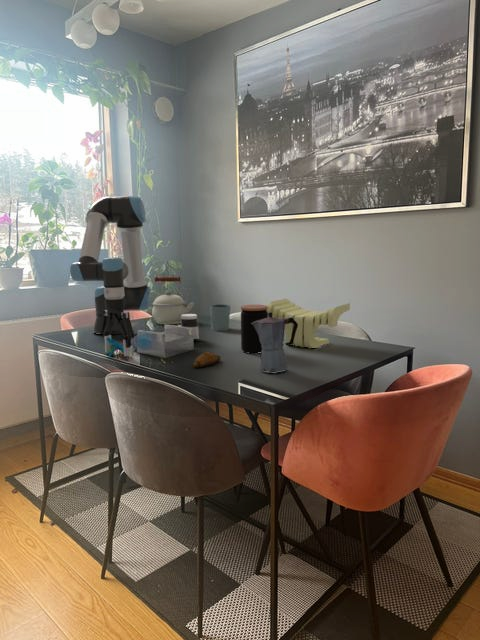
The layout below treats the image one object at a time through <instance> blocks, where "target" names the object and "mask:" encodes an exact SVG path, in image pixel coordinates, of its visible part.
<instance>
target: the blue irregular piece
mask: <svg viewBox="0 0 480 640" xmlns="http://www.w3.org/2000/svg"><path fill="white" fill-rule="evenodd" d="M106 340H107V341H108V342H109V343H110V344H111V345H110V350H109V351H108V352H106V354H107V355H108V356H109V357H110V356H111V357H112V356H113V355H114V353H115V351H116V352H117V351H119V352H121V353H122V354H124V347H123V345H122V344H120V343H119V342H118V341H116V340H114V339H113V338H112V337H111V338H109V337H108V338H107V339H106ZM111 350H112V351H111ZM110 351H111V352H110Z"/></svg>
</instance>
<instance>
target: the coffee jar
mask: <svg viewBox="0 0 480 640" xmlns="http://www.w3.org/2000/svg"><path fill="white" fill-rule="evenodd" d="M240 309H241V312H240V334H241V335H240V341H241V342H240V346H241V347H240V348H241V350H242V352H243V351H244V352H243V353H245V352H249V353H258V352H261V351H262V344H261V343H260V340H259V335H258V333H257V332H256V330H255V328H254V326H253V325H252V323H253V322H254V321H258V320H261V319H265V318H268V312H267V309H268V305H265V304H245V305H241V306H240Z"/></svg>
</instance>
